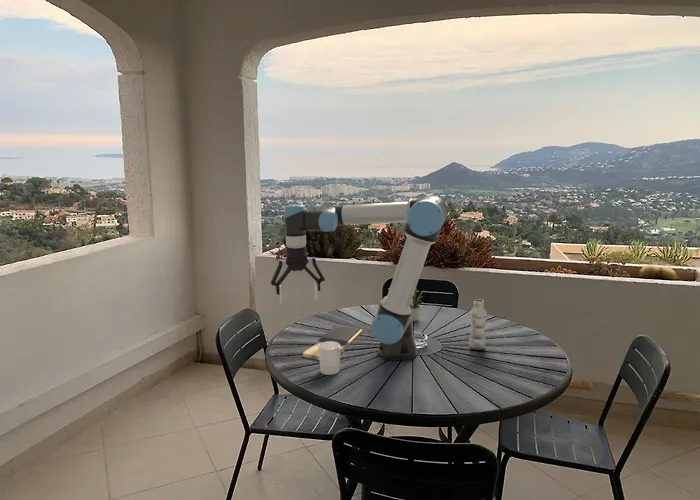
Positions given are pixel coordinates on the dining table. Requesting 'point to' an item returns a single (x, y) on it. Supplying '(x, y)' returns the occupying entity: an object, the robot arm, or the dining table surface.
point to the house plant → (416, 306)
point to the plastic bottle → (477, 325)
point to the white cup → (329, 357)
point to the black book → (342, 335)
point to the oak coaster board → (315, 352)
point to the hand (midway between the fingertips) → (298, 301)
